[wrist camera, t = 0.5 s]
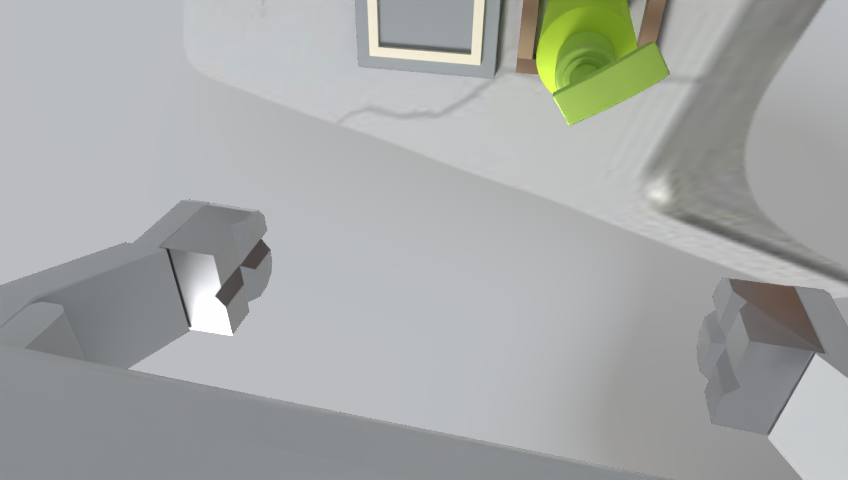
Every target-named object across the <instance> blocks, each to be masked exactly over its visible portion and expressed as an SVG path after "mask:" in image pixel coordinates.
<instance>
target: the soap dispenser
mask: <svg viewBox="0 0 848 480" xmlns="http://www.w3.org/2000/svg"><path fill="white" fill-rule="evenodd" d="M536 65H537V70H538V73H539V76H540V78H541V80H542V82H543V84H544V85H545V86H546V88H547V89H548V90H549V91H550V92H551V93H553V98H554V100H555V102H556V103H557V105H558V107H559V109H560V111H561V112H562V114H563V116H564V118H565V120H566V121H567V123H568V125H569V126H570V125H572V124H575V123H577V122H579V121H581V120H584V119H586V118H588V117H590V116H593V115H595V114H597V113H599V112H601V111H604V110H606V109H608V108H610V107H612V106H614V105H616V104H618V103H620V102H622V101H624V100H626V99H628V98H630V97H632V96H634V95H636V94H638V93H639V92H641V91H643V90H645V89H647V88H648V87H650V86H652V85H653V84H655V83H657V82H659V81H660V80H662V79H663V78H665V77H667V76H668V75H669V74H670V73H669V70H668V68H667V66H666V63H665V61H664V59H663V57H662V55H661V53H660V50H659V48H658V46H657V44H656V42H650V43H646V44H644V45H642V46H640V47H639V48H637V41H636V37H635V33H634V28H633V24H632V20H631V15H630V11H629V7H628V2H627V0H548V3H547V7H546V11H545V16H544V20H543V25H542V29H541V34H540V38H539V43H538V47H537V53H536Z"/></svg>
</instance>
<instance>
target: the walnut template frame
mask: <svg viewBox="0 0 848 480" xmlns="http://www.w3.org/2000/svg"><path fill="white" fill-rule="evenodd" d="M539 2H540V0H523V9H522V19H521V28H520V38H519V47H518V57H517V66H516V73H528V74H539V73H538V70H537V65H536V55H533V52H534V44H535V36H536V27H537V19H538V11H539ZM665 3H666V0H647V2H646V6H645V11H644V15H643V20H642V24H641V29H640V33H639V38H638V42H637V48H639V47H640V46H642V45H644V44H646V43H650V42H656V41H657V37H658V32H659V28H660V24H661V20H662V16H663V12H664V7H665Z"/></svg>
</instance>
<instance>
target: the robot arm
mask: <svg viewBox="0 0 848 480" xmlns="http://www.w3.org/2000/svg"><path fill="white" fill-rule="evenodd" d="M266 231H267V227H266V222H265V217H264V215H263V214H262V213H261V212H260V211H258V210H252V209H246V208H240V207H234V206H228V205H222V204H215V203H209V202H203V201H196V200H182V201H180V202H179V203H178V204H177V205H176V206H175V207H174V208H172V209H171V210H170V211H169V212H168V213H167V214H166V215H164V216H163V217H162V218H161V219H160V220H159V221H158V222H156V223H155V224H154V225H153V226H152V227H151V228H150V229H149V230H147V231H146V232H145V233H144V234H143V235H142V236H141V237H139V238H138V239H137V240H136V241H135V242H134V243H126V242H125V243H122V244H119V245H116V246H113V247H110V248H108V249H104V250H102V251H99V252H96V253H93V254H90V255H87V256H84V257H81V258H79V259H76V260H73V261H70V262H67V263H64V264H61V265H58V266H55V267H52V268H49V269H47V270H43V271H41V272H38V273H35V274H32V275H29V276H26V277H23V278H20V279H18V280H15V281H12V282H9V283H6V284H3V285H0V480H673V479H668V478H663V477H658V476H654V475H649V474H644V473H639V472H634V471H629V470H624V469H619V468H614V467H609V466H604V465H599V464H594V463H589V462H585V461H580V460H575V459H570V458H565V457H560V456H555V455H551V454H545V453H541V452H536V451H531V450H526V449H521V448H516V447H511V446H506V445H501V444H496V443H492V442H487V441H481V440H477V439H472V438H466V437H462V436H456V435H452V434H446V433H442V432H436V431H432V430H427V429H422V428H417V427H412V426H407V425H402V424H397V423H392V422H387V421H382V420H377V419H372V418H366V417H362V416H357V415H352V414H347V413H342V412H337V411H332V410H327V409H322V408H317V407H312V406H307V405H302V404H297V403H292V402H287V401H282V400H277V399H272V398H267V397H263V396H257V395H253V394H248V393H242V392H238V391H233V390H228V389H223V388H218V387H213V386H208V385H203V384H198V383H193V382H188V381H183V380H178V379H173V378H168V377H163V376H158V375H154V374H149V373H144V372H138V371H134V370H129V369H128V368H130V367H131V366H133V365H135V364H136V363H138V362H140V361H141V360H143V359H145V358H146V357H148V356H149V355H151V354H153V353H154V352H156V351H158V350H159V349H161V348H163V347H164V346H166V345H167V344H169V343H171V342H172V341H174V340H176V339H177V338H179V337H181V336H182V335H184V334H185V333H187V332H189V331H190V330H189V329H195V330H201V331H208V332H214V333H221V334H227V335H233V334H234V332H235V331H236V329H237V328H238V327H239V325H240V324H241V322H242V321H243V320H244V318H245V317H246V315H247V314H248V313H249V308H248V302H249V301H251V300H253V299H256V298H258V297H260V296H261V294H262V293H263V291H264V290H265V288H266V287H267V284H268V281H269V278H270V275H271V269H272V257H271V250H270V249H269V247H268V246H267V245H266V244H265V243H264V242H263V240H262V237H263V236H264V234H265V233H266ZM712 297H713V301H714V305H715V309H716V310H715V311H713V312H711V313H710V314H708V315H707V316H705V317H704V320H703V322H702V325H701V328H700V331H699V336H698V343H697V361H698V366H699V371H700V372H701V373H702V374H703V375H704V376H705V377H706V378H707V379H708V383H707V385H706V388H705V390H704V394H705V399H706V403H707V407H708V412H709V416H710V421H711V424H715V425H720V426H725V427H730V428H734V429H739V430H744V431H749V432H754V433H758V434H763V435H768V436H769V437H768V439H769V440H770V441H771V442H772V443H773V445H774V446H775V447H776V448H777V449H778V450H779V452H780V453H781V454H782V455H783V456H784V458H785V459H786V460H787V461H788V462H789V463H790V465H791V466H792V467H793V468H794V469H795V470H796V472H797V473H798V474H799V475H800V476H801V478H802V479H803V480H848V326H847V324H846V322H845V320H844V318H843V317H842V315H841V313H840V311H839V309H838V308H837V306H836V304H835V302H834V300H833V299H832V297H831V295H830V294H829V293H828V292H827V291H825V290H824V289H816V288H807V287H798V286H784V285H776V284H769V283H761V282H753V281H746V280H738V279H730V278H722V279H721V280H720V281H719V283H718V284H717V286H716V289H715V291H714V294H713V296H712Z"/></svg>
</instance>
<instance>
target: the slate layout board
mask: <svg viewBox="0 0 848 480" xmlns="http://www.w3.org/2000/svg"><path fill="white" fill-rule="evenodd" d="M501 1H502V0H355V11H356V29H357V48H358V66H359V67H366V68H377V69H388V70H399V71H410V72H421V73H432V74H443V75H455V76H466V77H477V78H488V79H494V77H495V73H496V61H497V49H498V37H499V25H500V13H501Z"/></svg>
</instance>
